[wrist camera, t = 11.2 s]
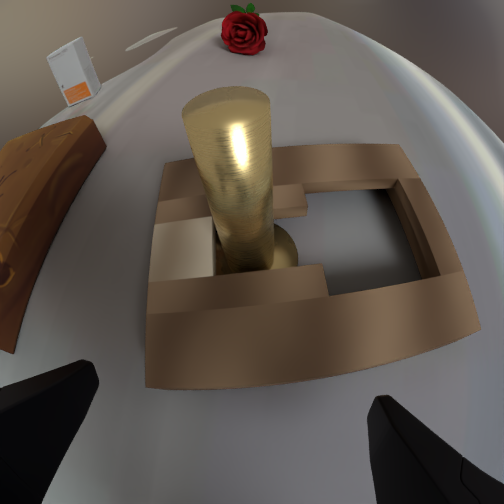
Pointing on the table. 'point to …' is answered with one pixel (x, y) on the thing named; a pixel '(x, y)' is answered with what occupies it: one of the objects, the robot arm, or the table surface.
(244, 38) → the flower
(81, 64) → the skincare box
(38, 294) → the table surface
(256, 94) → the brass peg
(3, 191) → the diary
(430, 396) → the table surface
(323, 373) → the keyhole plate
